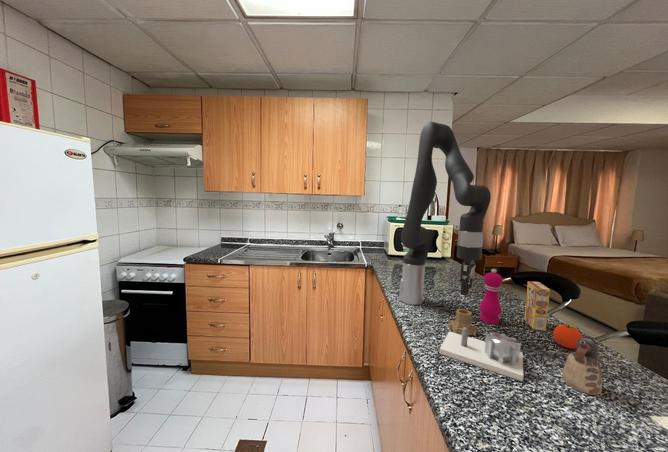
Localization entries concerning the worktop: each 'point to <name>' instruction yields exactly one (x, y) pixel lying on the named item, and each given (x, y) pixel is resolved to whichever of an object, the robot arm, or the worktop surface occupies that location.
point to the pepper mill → (491, 298)
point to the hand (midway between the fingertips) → (466, 291)
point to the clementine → (567, 335)
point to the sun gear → (502, 348)
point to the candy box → (537, 305)
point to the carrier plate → (478, 354)
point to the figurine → (584, 368)
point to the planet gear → (463, 322)
